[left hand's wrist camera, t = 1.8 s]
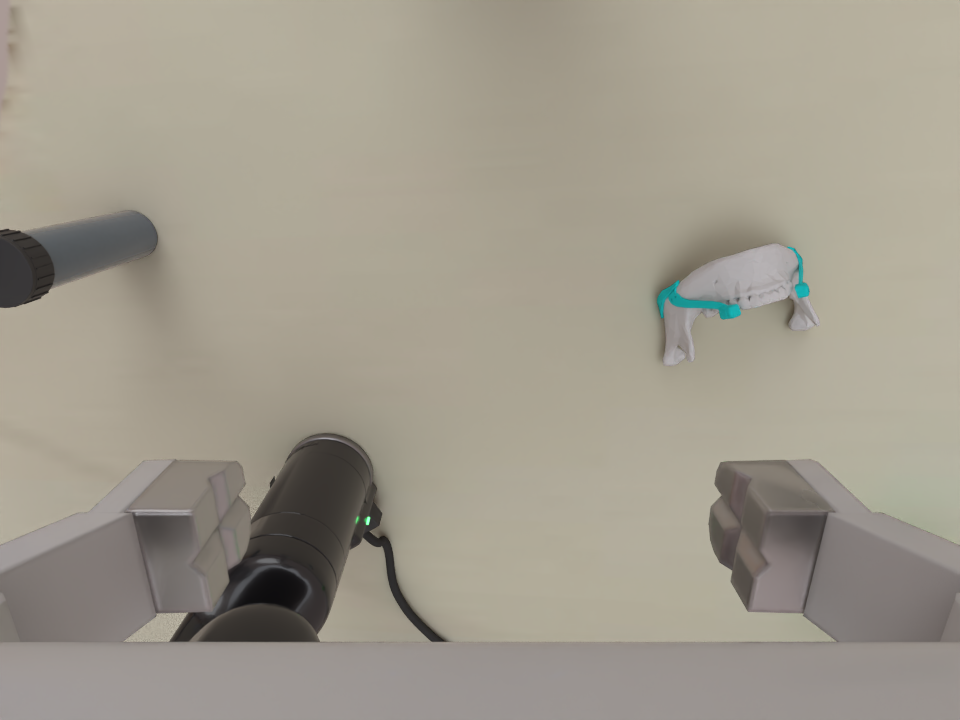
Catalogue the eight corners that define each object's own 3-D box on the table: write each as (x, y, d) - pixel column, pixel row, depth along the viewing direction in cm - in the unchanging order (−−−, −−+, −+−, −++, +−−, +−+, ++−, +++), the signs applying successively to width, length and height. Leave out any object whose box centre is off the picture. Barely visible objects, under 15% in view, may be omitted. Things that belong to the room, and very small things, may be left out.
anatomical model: (848, 221, 47) (874, 340, 49) (789, 227, 57) (812, 325, 59) (660, 278, 49) (690, 392, 50) (636, 274, 59) (661, 369, 61)
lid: (12, 213, 41) (-14, 217, 39) (71, 272, 42) (49, 279, 40) (-34, 258, 42) (-62, 264, 40) (25, 314, 43) (2, 323, 41)
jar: (131, 200, 55) (-7, 224, 39) (167, 238, 56) (46, 276, 41) (100, 229, 56) (-48, 264, 40) (135, 266, 57) (5, 314, 42)
